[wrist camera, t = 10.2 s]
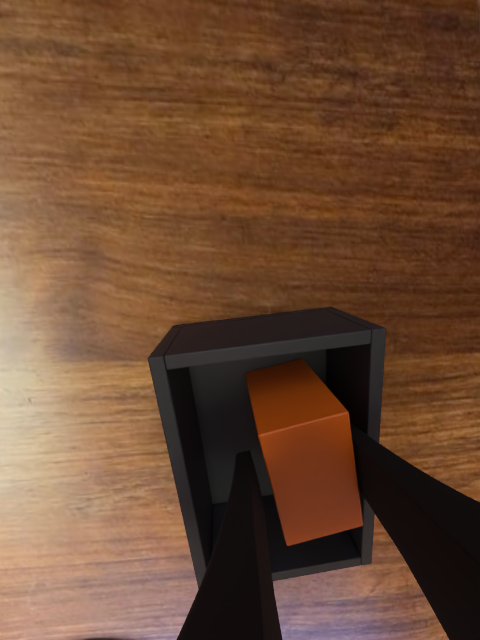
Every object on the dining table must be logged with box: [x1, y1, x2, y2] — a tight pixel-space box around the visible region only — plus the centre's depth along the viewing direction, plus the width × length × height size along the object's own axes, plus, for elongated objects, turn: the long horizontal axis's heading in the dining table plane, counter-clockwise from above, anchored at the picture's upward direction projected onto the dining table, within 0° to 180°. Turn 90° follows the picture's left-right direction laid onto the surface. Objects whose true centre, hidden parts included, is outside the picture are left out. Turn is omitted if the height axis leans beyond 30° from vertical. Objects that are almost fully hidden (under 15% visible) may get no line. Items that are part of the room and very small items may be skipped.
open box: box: [148, 307, 386, 588], centre depth 12 cm, size 9×13×4 cm
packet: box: [245, 359, 363, 546], centre depth 11 cm, size 4×6×5 cm, turn 13°
